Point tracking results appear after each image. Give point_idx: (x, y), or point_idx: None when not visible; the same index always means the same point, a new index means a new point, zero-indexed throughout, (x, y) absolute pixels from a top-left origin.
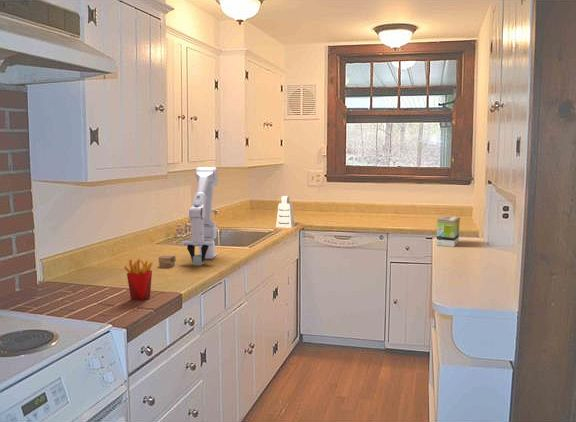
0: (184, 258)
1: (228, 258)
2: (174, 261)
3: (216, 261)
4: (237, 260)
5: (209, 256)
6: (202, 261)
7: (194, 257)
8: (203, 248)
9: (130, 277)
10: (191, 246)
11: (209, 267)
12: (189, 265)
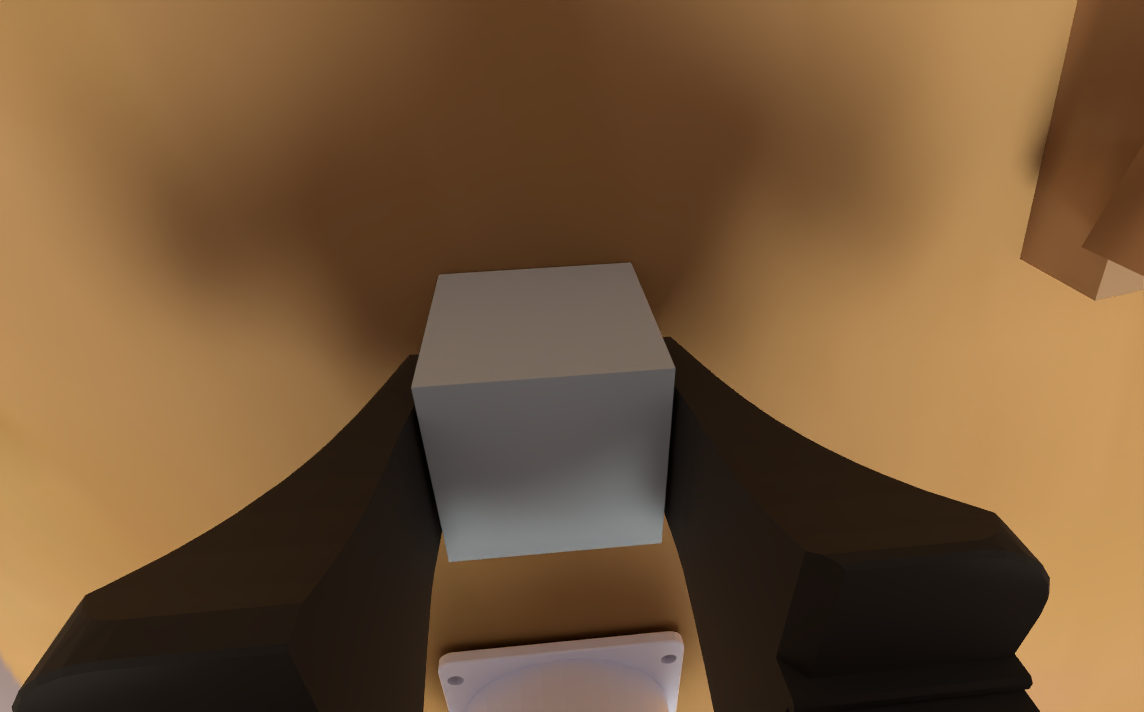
0: None
1: None
2: (1080, 267)
3: None
4: (3, 657)
5: (494, 692)
6: None
7: (617, 355)
8: (168, 609)
9: None
10: (849, 697)
11: (122, 87)
12: (699, 221)
